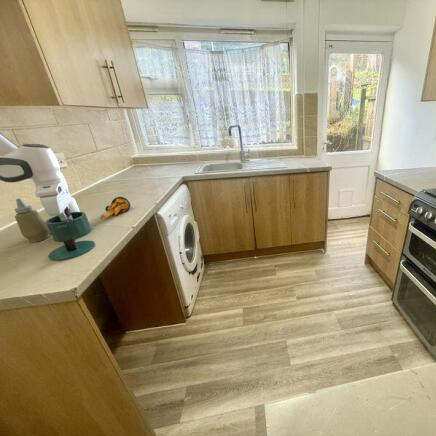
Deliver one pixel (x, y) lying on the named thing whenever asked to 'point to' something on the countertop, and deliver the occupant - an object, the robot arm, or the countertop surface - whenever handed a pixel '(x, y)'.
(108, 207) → the chicken drumstick
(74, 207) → the pill bottle
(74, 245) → the pot lid
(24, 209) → the squeeze bottle
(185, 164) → the countertop surface
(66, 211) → the thread spool
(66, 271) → the countertop surface
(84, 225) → the pot
